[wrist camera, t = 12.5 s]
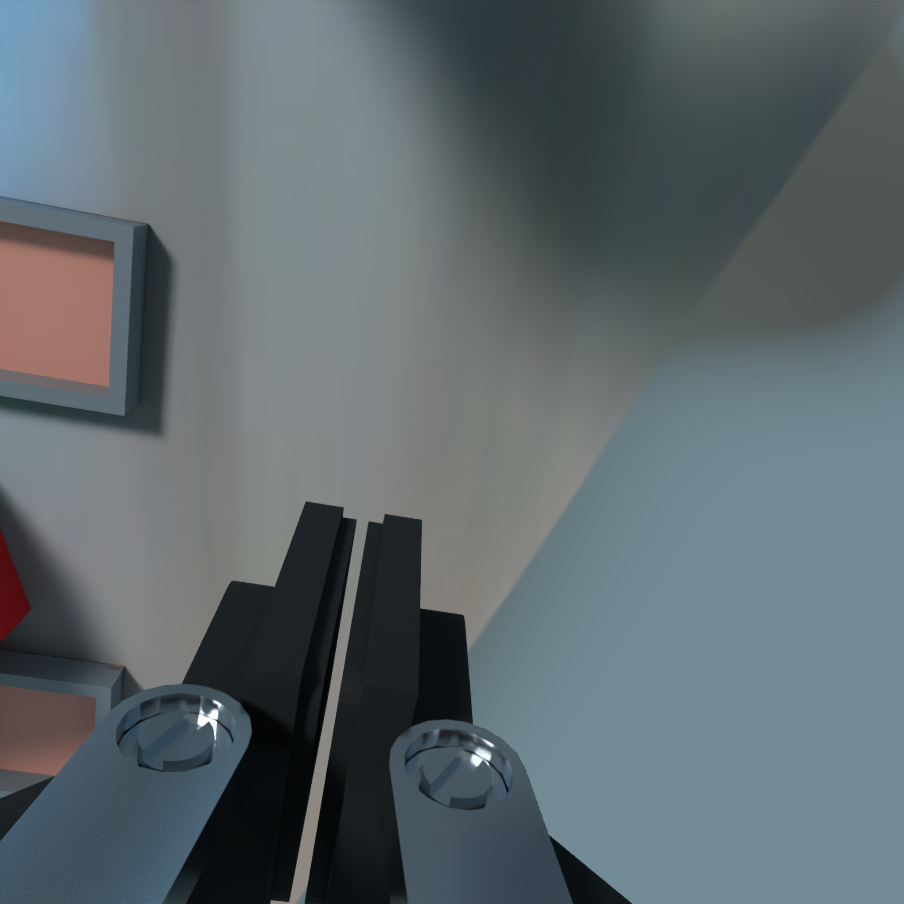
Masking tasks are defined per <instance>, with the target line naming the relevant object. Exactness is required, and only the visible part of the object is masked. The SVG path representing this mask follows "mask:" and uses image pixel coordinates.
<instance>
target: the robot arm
mask: <svg viewBox="0 0 904 904" xmlns="http://www.w3.org/2000/svg"><path fill="white" fill-rule="evenodd" d="M343 510H344V508H343V507H337V506H331V505H325V504H319V503H312V502H306V503H305V505H304V508H303V511H302V513H301V516H300V519H299V522H298V524H297V527H296V530H295V533H294V535H293V538H292V541H291V544H290V546H289V549H288V552H287V555H286V557H285V560H284V563H283V566H282V568H281V571H280V574H279V577H278V579H277V582H276V585H275V587H273V586H266V585H259V584H252V583H246V582H239V581H231V583H230V584H229V586H228V588H227V590H226V592H225V594H224V596H223V598H222V600H221V602H220V605H219V607H218V609H217V611H216V613H215V615H214V617H213V619H212V621H211V623H210V626H209V628H208V630H207V632H206V634H205V636H204V638H203V640H202V642H201V644H200V647H199V649H198V651H197V653H196V655H195V657H194V659H193V661H192V663H191V666H190V668H189V670H188V672H187V674H186V676H185V678H184V680H183V682H182V684H178V685H163V686H160V687H156V688H152V689H148V690H144V691H141V692H139V693H137V694H135V695H133V696H131V697H129V698H127V699H125V700H123V701H122V702H121V703H120V704H118V705H117V706H116V707H115V708H114V709H113V710H111V711H110V712H109V713H108V714H107V715H106V717H105V718H104V719H103V720H102V721H101V722H100V724H99V725H98V726H97V727H96V728H95V730H94V731H93V732H92V733H91V734H90V736H89V737H88V738H87V739H86V740H85V741H84V743H83V744H82V745H81V746H80V747H79V749H78V750H77V751H76V752H75V753H74V754H73V756H72V757H71V758H70V759H69V760H68V762H67V763H66V764H65V765H64V766H63V767H62V769H61V770H60V771H59V772H58V773H57V775H56V776H53V777H51V778H49V779H46V780H44V781H41V782H39V783H36V784H34V785H31V786H29V787H27V788H24V789H22V790H19V791H17V792H14V793H12V794H9V795H7V796H5V797H2V798H0V904H270V902H271V900H275V901H283V902H289V900H290V895H291V890H292V884H293V879H294V874H295V869H296V863H297V858H298V853H299V847H300V842H301V837H302V832H303V826H304V821H305V816H306V811H307V805H308V800H309V795H310V789H311V784H312V779H313V774H314V768H315V763H316V758H317V753H318V747H319V742H320V737H321V731H322V726H323V721H324V716H325V710H326V705H327V700H328V694H329V688H330V683H331V677H332V671H333V664H334V658H335V652H336V646H337V639H338V633H339V627H340V621H341V615H342V608H343V602H344V596H345V590H346V584H347V577H348V571H349V565H350V559H351V553H352V546H353V540H354V534H355V528H356V521H357V520H356V519H350V518H343ZM421 538H422V520H419V519H413V518H407V517H400V516H394V515H388V514H385V516H384V521H383V524H381V523H375V522H369V523H368V529H367V534H366V540H365V546H364V552H363V558H362V564H361V570H360V576H359V582H358V588H357V594H356V600H355V605H354V611H353V617H352V623H351V629H350V635H349V641H348V647H347V653H346V659H345V665H344V671H343V677H342V682H341V688H340V694H339V700H338V706H337V712H336V718H335V724H334V730H333V736H332V742H331V748H330V754H329V760H328V766H327V772H326V778H325V784H324V790H323V796H322V802H321V808H320V814H319V820H318V826H317V832H316V838H315V844H314V850H313V856H312V862H311V868H310V874H309V880H308V886H307V892H306V898H305V904H632V903H630V902H629V901H628V900H627V899H626V898H624V897H623V896H622V895H621V894H620V893H618V892H617V891H616V890H615V889H614V888H612V887H611V886H610V885H609V884H608V883H606V882H605V881H604V880H603V879H601V878H600V877H599V876H598V875H597V874H595V873H594V872H593V871H592V870H591V869H589V868H588V867H587V866H586V865H585V864H583V863H582V862H581V861H580V860H579V859H577V858H576V857H575V856H574V855H572V854H571V853H570V852H569V851H568V850H566V849H565V848H564V847H563V846H562V845H560V844H559V843H558V842H556V840H554V839H553V838H552V837H551V836H549V834H548V831H547V829H546V826H545V823H544V820H543V817H542V814H541V811H540V809H539V806H538V803H537V800H536V797H535V794H534V792H533V789H532V786H531V783H530V780H529V777H528V775H527V772H526V769H525V767H524V765H523V763H522V762H521V760H520V758H519V756H518V755H517V753H516V752H515V751H514V750H513V749H512V748H511V747H510V746H509V745H508V744H507V743H506V742H505V741H504V740H503V739H501V738H500V737H498V736H496V735H495V734H493V733H492V732H490V731H488V730H487V729H484V728H481V727H478V726H476V725H473V719H472V706H471V693H470V680H469V667H468V654H467V642H466V629H465V619H464V616H463V615H461V614H454V613H447V612H441V611H434V610H427V609H420V586H421Z"/></svg>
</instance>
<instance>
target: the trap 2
mask: <svg viewBox="0 0 904 904" xmlns="http://www.w3.org/2000/svg"><path fill="white" fill-rule="evenodd" d="M147 242H148V224H146V223H141V222H135V221H130V220H124V219H119V218H114V217H108V216H103V215H98V214H92V213H87V212H81V211H76V210H71V209H65V208H60V207H54V206H49V205H44V204H38V203H33V202H27V201H22V200H17V199H11V198H6V197H1V196H0V396H5V397H11V398H18V399H24V400H30V401H36V402H42V403H48V404H54V405H60V406H66V407H72V408H78V409H85V410H91V411H97V412H103V413H109V414H115V415H121V416H125V415H126V414H128V413H129V412H130V411H131V410H132V409H134V408H135V407H136V406H137V405H138V404H139V390H140V371H141V353H142V334H143V316H144V298H145V279H146V261H147Z"/></svg>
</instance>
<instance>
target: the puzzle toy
mask: <svg viewBox="0 0 904 904" xmlns="http://www.w3.org/2000/svg"><path fill="white" fill-rule="evenodd" d="M30 610H31V608H30V606H29V603H28V600H27V598H26V595H25V593H24V590H23V587H22V585H21V582H20V580H19V577H18V574H17V572H16V569H15V567H14V564H13V562H12V559H11V556H10V554H9V551H8V549H7V546H6V543H5V541H4V538H3V536H2V533H1V530H0V643H1V642H2V641H3V640H4V639H5V638H6V636H7V635H8V634H9V633H10V632H11V631H12V630H13V629H14V628H15V626H16V625H17V624H18V623H19V622H20V621H21V620H22V619H23V617H24V616H25V615H26V614H27V613H28V612H29V611H30Z"/></svg>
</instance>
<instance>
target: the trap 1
mask: <svg viewBox="0 0 904 904" xmlns="http://www.w3.org/2000/svg"><path fill="white" fill-rule="evenodd" d="M123 684H124V666H118V665H110V664H103V663H96V662H88V661H81V660H74V659H67V658H59V657H52V656H45V655H37V654H30V653H23V652H15V651H8V650H1V649H0V798H2V797H5V796H7V795H9V794H12V793H14V792H17V791H19V790H22V789H24V788H27V787H29V786H31V785H34V784H36V783H39V782H41V781H44V780H46V779H49V778H51V777H53V776H56V775H57V773H58V772H59V771H60V770H61V769H62V767H63V766H64V765H65V764H66V763H67V762H68V760H69V759H70V758H71V757H72V756H73V754H74V753H75V752H76V751H77V750H78V749H79V747H80V746H81V745H82V744H83V743H84V741H85V740H86V739H87V738H88V737H89V736H90V734H91V733H92V732H93V731H94V730H95V728H96V727H97V726H98V725H99V724H100V722H101V721H102V720H103V719H104V718H105V717H106V715H107V714H108V713H109V712H110V711H111V710H113V709H114V708H115V707H116V706H117V705H118V704H120V703H121V702H122V701H123Z"/></svg>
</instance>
